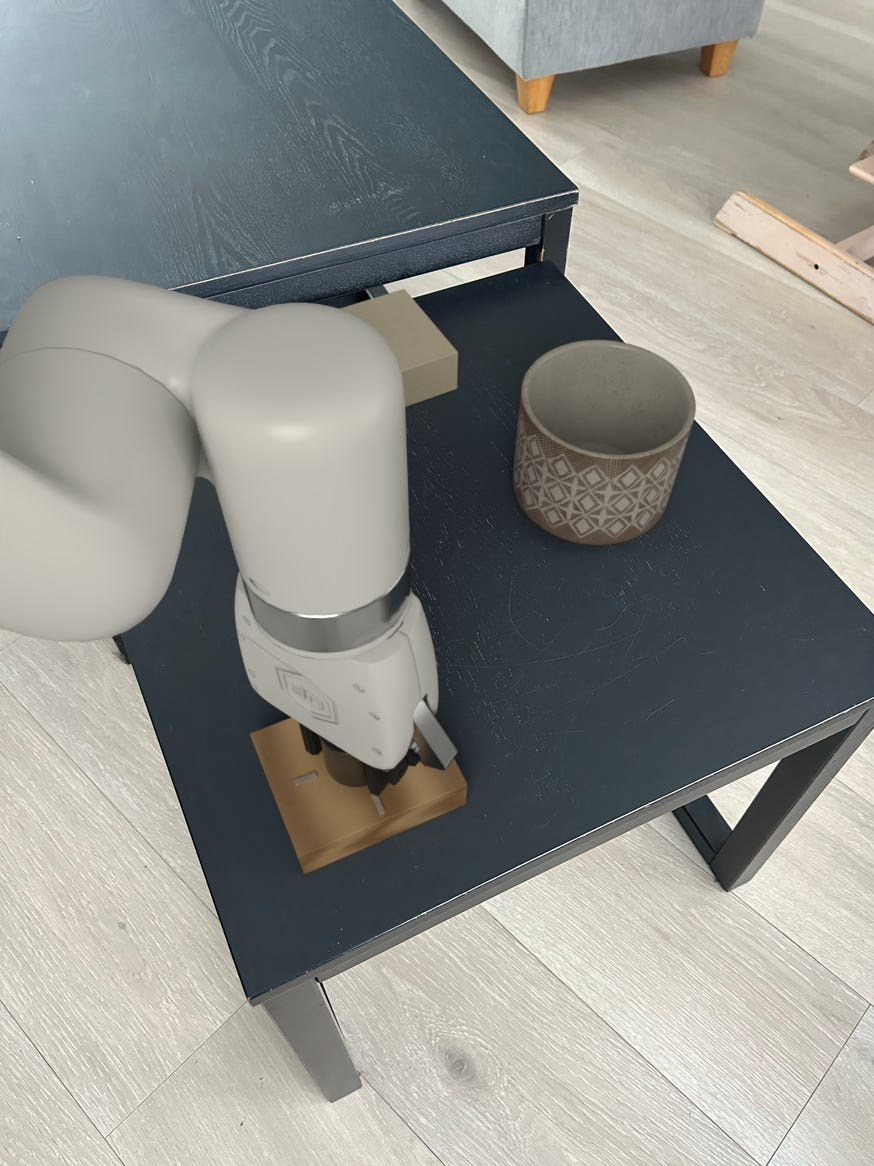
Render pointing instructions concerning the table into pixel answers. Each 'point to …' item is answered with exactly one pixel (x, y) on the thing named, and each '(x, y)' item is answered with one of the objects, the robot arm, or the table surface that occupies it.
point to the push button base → (412, 344)
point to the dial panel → (345, 799)
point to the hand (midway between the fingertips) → (356, 754)
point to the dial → (343, 765)
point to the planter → (600, 440)
